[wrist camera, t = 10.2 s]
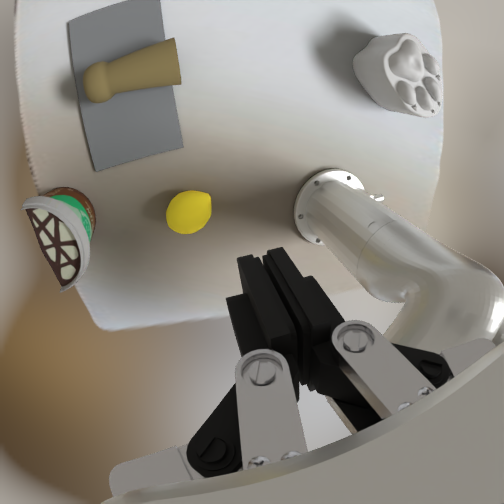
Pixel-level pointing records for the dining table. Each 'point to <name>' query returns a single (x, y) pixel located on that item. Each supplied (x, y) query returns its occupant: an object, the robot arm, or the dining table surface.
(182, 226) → the lemon
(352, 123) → the dining table surface
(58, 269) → the food container
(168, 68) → the cork
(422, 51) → the lumpy-topped squat cylinder
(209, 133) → the dining table surface
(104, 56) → the mat
